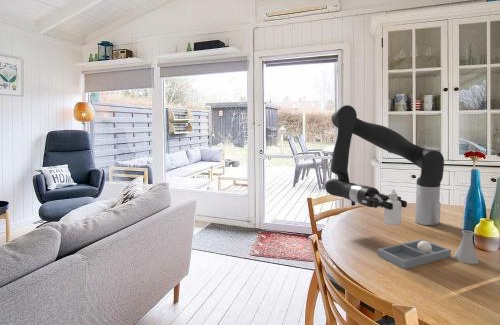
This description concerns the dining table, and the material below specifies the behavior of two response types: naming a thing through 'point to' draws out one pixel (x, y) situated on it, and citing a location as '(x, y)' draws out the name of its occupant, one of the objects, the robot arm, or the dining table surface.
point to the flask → (466, 249)
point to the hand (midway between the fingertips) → (399, 205)
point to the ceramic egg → (424, 247)
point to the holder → (412, 254)
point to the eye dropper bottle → (393, 211)
